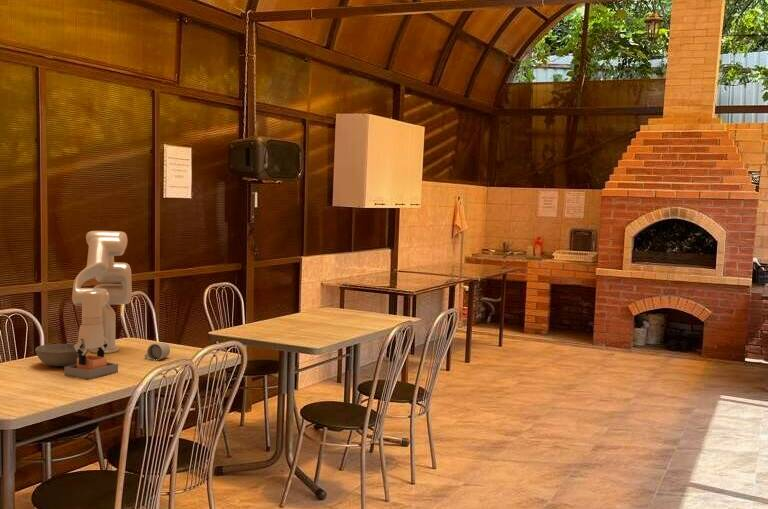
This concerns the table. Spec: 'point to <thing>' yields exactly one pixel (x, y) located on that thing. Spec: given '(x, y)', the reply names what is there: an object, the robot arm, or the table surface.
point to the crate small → (92, 362)
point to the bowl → (58, 354)
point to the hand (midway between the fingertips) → (91, 362)
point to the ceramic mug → (158, 351)
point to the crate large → (90, 371)
